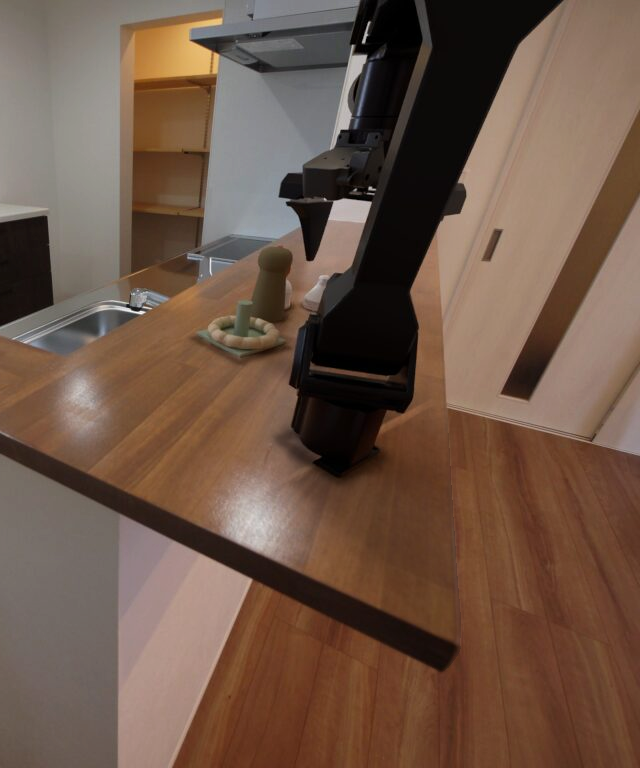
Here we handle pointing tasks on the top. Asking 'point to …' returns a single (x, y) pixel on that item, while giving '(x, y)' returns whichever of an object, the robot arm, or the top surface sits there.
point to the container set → (308, 294)
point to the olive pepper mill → (271, 284)
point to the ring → (243, 342)
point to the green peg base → (240, 331)
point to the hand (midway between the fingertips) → (341, 269)
